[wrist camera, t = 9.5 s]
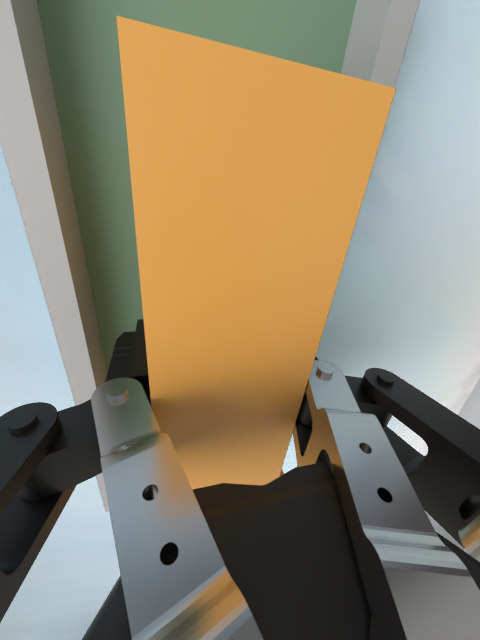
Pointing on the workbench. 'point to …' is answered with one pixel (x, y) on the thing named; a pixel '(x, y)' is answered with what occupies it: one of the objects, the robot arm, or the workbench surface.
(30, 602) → the workbench surface
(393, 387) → the robot arm
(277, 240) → the chute
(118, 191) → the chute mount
